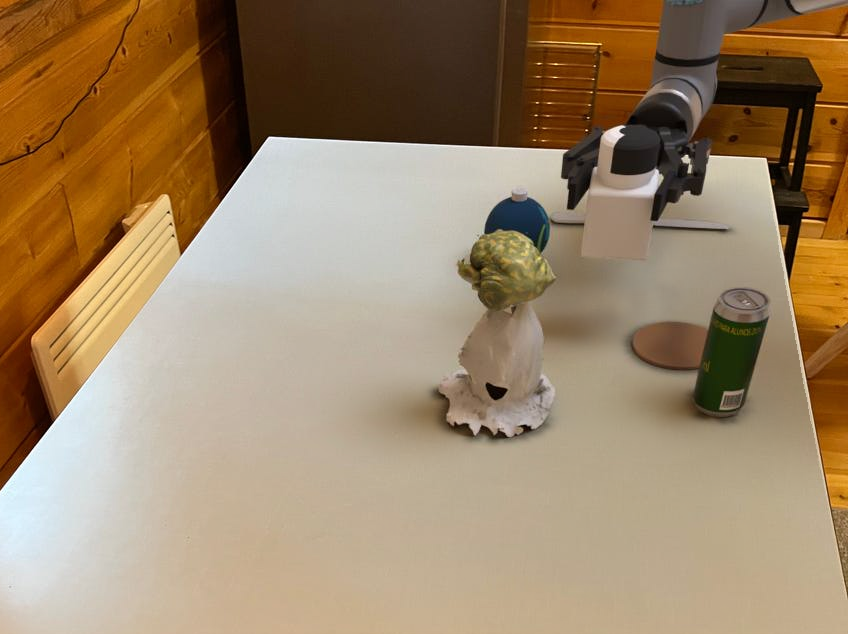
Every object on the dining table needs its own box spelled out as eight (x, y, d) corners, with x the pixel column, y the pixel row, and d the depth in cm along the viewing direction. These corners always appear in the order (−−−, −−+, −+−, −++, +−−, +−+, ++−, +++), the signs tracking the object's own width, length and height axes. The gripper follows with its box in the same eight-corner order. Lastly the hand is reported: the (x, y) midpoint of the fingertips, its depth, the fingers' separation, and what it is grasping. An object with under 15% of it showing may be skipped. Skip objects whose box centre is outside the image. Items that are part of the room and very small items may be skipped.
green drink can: (753, 411, 102) (784, 305, 93) (710, 423, 101) (737, 317, 92) (724, 386, 105) (751, 281, 96) (681, 397, 104) (704, 293, 95)
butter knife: (552, 210, 136) (550, 219, 134) (729, 221, 131) (729, 230, 129) (552, 213, 136) (550, 222, 134) (728, 224, 132) (728, 233, 130)
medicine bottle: (648, 233, 109) (667, 120, 101) (646, 262, 105) (666, 145, 96) (585, 230, 111) (598, 117, 102) (580, 258, 106) (594, 142, 97)
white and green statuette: (539, 367, 109) (555, 204, 96) (565, 431, 101) (586, 261, 87) (435, 376, 109) (437, 213, 96) (453, 441, 100) (457, 272, 87)
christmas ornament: (516, 284, 123) (522, 205, 116) (469, 263, 127) (472, 186, 120) (560, 262, 126) (568, 184, 119) (513, 242, 131) (518, 166, 124)
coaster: (704, 321, 115) (704, 318, 114) (734, 365, 108) (734, 362, 108) (621, 328, 114) (622, 325, 114) (646, 373, 108) (647, 370, 107)
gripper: (745, 169, 113) (708, 252, 99) (571, 149, 120) (514, 224, 106) (761, 99, 108) (724, 177, 94) (578, 83, 114) (518, 153, 100)
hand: (613, 202), depth 100 cm, fingers closed on medicine bottle, 8 cm apart
